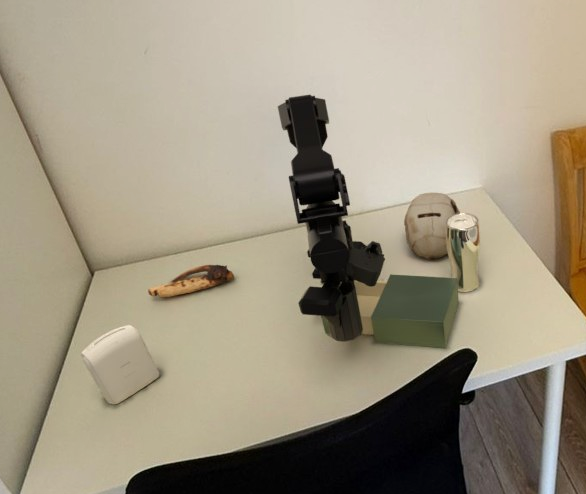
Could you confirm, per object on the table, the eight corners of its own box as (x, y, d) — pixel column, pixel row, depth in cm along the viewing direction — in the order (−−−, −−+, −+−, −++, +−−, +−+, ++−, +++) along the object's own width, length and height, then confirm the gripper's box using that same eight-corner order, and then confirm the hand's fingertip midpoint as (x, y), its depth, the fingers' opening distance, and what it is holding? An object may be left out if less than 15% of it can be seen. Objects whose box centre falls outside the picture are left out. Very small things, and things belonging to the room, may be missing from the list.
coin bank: (441, 217, 156) (439, 169, 146) (482, 252, 145) (483, 203, 136) (386, 240, 150) (380, 191, 141) (424, 278, 140) (421, 229, 130)
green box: (375, 342, 121) (370, 317, 117) (393, 299, 131) (390, 274, 127) (445, 348, 118) (443, 322, 114) (458, 303, 128) (457, 278, 124)
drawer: (305, 332, 123) (300, 313, 120) (327, 293, 133) (323, 275, 130) (388, 338, 120) (385, 319, 117) (404, 298, 130) (402, 279, 127)
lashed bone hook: (232, 267, 146) (151, 286, 142) (227, 249, 143) (144, 268, 139) (237, 287, 139) (151, 307, 135) (231, 268, 136) (144, 288, 132)
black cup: (326, 340, 112) (315, 296, 106) (336, 320, 116) (327, 277, 110) (357, 342, 111) (348, 299, 105) (366, 322, 115) (358, 279, 109)
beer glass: (479, 294, 130) (476, 230, 121) (445, 292, 131) (441, 229, 122) (483, 275, 135) (481, 212, 126) (451, 274, 137) (447, 211, 127)
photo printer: (113, 409, 112) (84, 356, 104) (101, 398, 114) (71, 346, 106) (164, 376, 117) (140, 324, 110) (152, 367, 120) (127, 315, 112)
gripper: (358, 274, 93) (372, 354, 103) (390, 213, 107) (400, 288, 117) (288, 270, 95) (308, 349, 105) (328, 210, 109) (343, 285, 119)
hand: (343, 316), depth 111 cm, fingers closed on black cup, 6 cm apart
